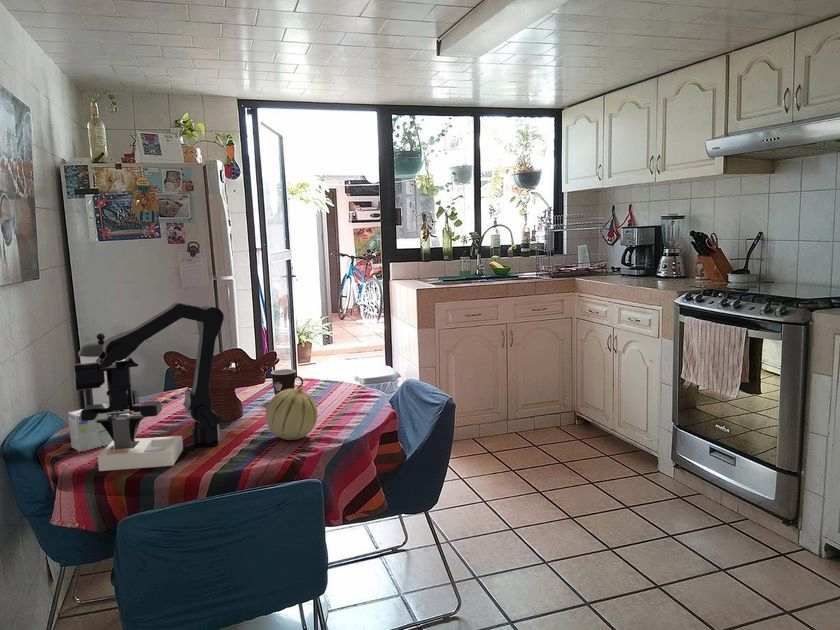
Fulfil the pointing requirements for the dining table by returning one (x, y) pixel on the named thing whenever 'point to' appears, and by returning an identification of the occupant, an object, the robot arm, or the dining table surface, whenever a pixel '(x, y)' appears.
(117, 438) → the grey rectangular block
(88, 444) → the light bulb box
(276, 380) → the coffee mug
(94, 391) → the coffee press
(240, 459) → the dining table surface
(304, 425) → the cantaloupe
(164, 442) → the socket block
